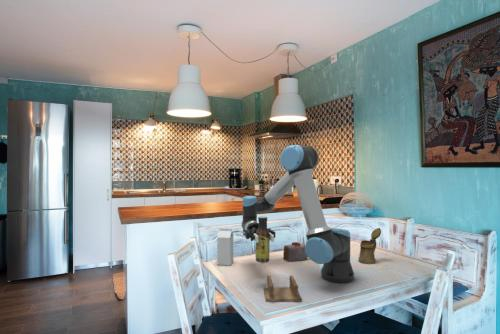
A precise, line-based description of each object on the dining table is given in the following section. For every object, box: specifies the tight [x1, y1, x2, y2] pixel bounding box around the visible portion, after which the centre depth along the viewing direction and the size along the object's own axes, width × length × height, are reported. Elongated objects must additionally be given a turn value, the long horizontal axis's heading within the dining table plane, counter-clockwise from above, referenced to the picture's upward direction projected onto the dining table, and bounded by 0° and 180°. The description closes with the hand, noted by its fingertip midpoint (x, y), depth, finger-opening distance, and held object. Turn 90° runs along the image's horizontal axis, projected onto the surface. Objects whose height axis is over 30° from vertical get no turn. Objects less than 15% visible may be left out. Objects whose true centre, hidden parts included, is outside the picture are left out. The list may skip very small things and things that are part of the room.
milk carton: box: [216, 228, 234, 267], centre depth 174 cm, size 7×7×19 cm
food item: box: [282, 241, 309, 263], centre depth 182 cm, size 14×8×10 cm, turn 116°
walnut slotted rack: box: [263, 275, 303, 303], centre depth 131 cm, size 14×12×6 cm
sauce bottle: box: [255, 215, 271, 264], centre depth 143 cm, size 6×6×20 cm
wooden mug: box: [357, 227, 382, 265], centre depth 178 cm, size 9×14×18 cm, turn 111°
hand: (265, 239), depth 138 cm, fingers closed on sauce bottle, 6 cm apart
